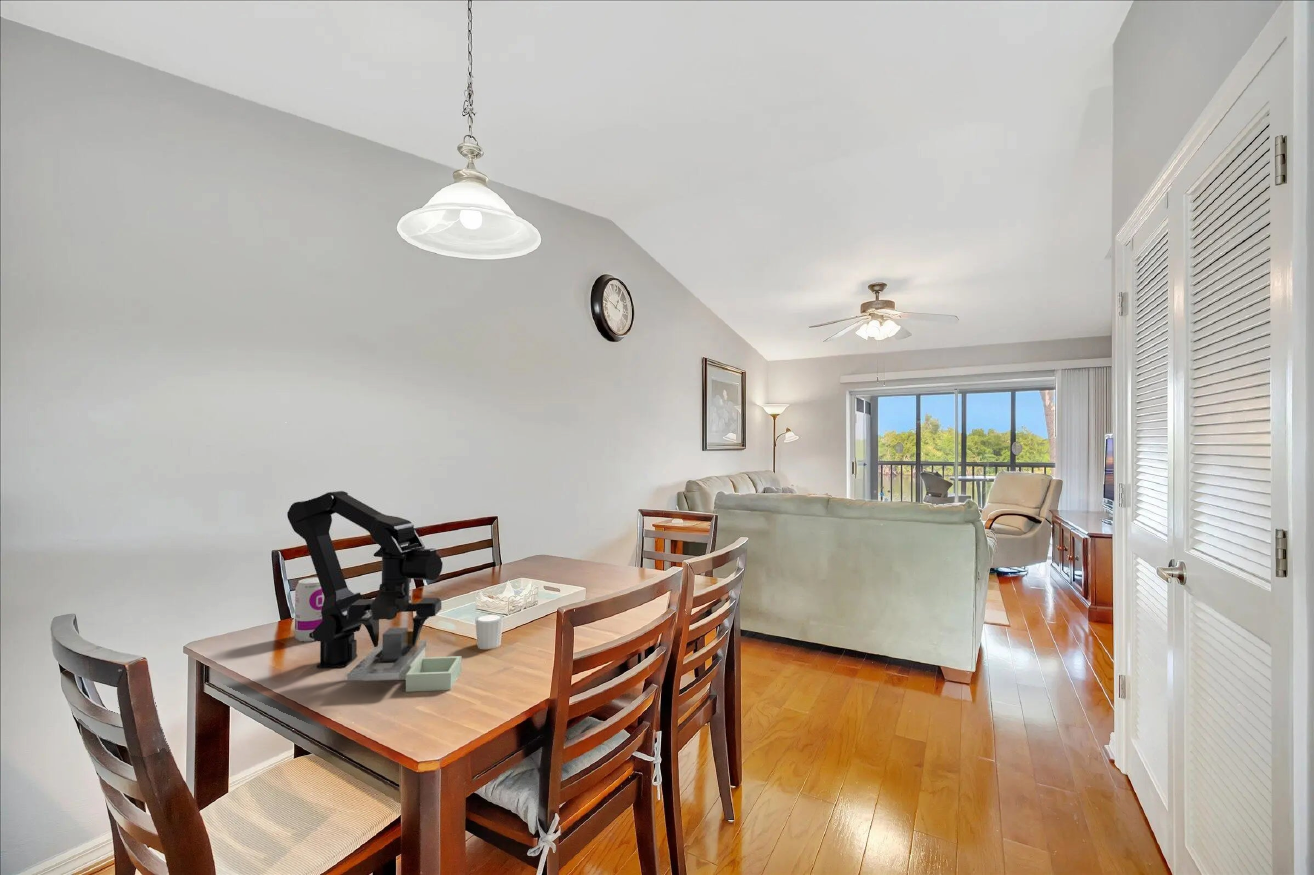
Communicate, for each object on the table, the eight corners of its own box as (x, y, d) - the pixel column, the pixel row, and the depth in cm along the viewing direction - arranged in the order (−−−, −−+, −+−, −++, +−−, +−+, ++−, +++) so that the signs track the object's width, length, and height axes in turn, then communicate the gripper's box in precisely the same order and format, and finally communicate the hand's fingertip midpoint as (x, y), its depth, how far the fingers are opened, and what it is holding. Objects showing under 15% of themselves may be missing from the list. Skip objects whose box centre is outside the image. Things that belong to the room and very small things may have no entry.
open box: (405, 691, 114) (405, 674, 114) (419, 673, 123) (419, 657, 123) (450, 689, 115) (450, 673, 115) (461, 671, 124) (461, 656, 124)
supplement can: (337, 635, 146) (338, 578, 146) (304, 645, 139) (305, 585, 139) (322, 629, 150) (322, 574, 151) (288, 638, 144) (289, 581, 144)
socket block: (380, 662, 128) (380, 649, 128) (424, 660, 130) (425, 648, 130) (362, 681, 119) (362, 667, 119) (410, 679, 120) (410, 665, 120)
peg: (377, 676, 121) (378, 635, 121) (387, 666, 126) (387, 627, 126) (403, 675, 122) (403, 634, 122) (411, 665, 127) (411, 626, 127)
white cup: (494, 651, 136) (495, 622, 136) (469, 649, 137) (469, 620, 137) (507, 641, 143) (508, 614, 143) (483, 639, 144) (483, 612, 144)
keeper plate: (382, 647, 129) (382, 629, 129) (426, 645, 130) (426, 627, 130) (347, 680, 111) (347, 659, 111) (398, 678, 112) (398, 657, 112)
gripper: (335, 587, 115) (334, 661, 115) (427, 585, 117) (427, 658, 117) (358, 574, 126) (357, 642, 126) (442, 572, 128) (441, 639, 128)
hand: (395, 645), depth 124 cm, fingers open, 8 cm apart
